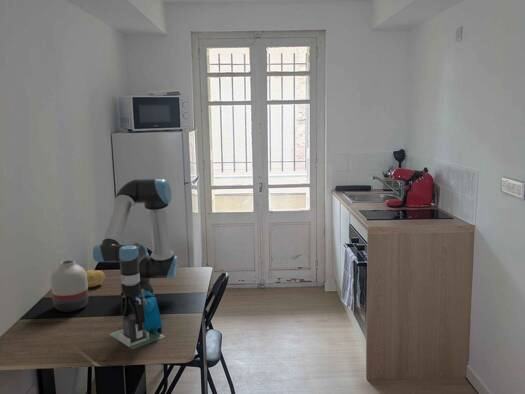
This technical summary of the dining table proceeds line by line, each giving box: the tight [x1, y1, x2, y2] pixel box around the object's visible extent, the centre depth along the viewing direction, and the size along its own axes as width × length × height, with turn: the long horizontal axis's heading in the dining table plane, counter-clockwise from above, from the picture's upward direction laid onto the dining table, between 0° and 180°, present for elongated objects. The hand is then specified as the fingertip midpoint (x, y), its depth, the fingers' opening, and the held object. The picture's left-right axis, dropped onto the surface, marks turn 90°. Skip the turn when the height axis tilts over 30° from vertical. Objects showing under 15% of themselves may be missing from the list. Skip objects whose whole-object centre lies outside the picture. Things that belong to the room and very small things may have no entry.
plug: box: [121, 313, 144, 343], centre depth 216 cm, size 5×7×10 cm
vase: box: [50, 259, 89, 313], centre depth 255 cm, size 17×17×24 cm
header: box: [118, 329, 149, 347], centre depth 217 cm, size 8×10×4 cm
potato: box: [85, 269, 106, 289], centre depth 285 cm, size 10×14×10 cm
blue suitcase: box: [138, 289, 163, 335], centre depth 226 cm, size 17×10×20 cm, turn 14°
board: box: [108, 328, 166, 350], centre depth 221 cm, size 20×16×1 cm
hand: (133, 333), depth 217 cm, fingers open, 8 cm apart
